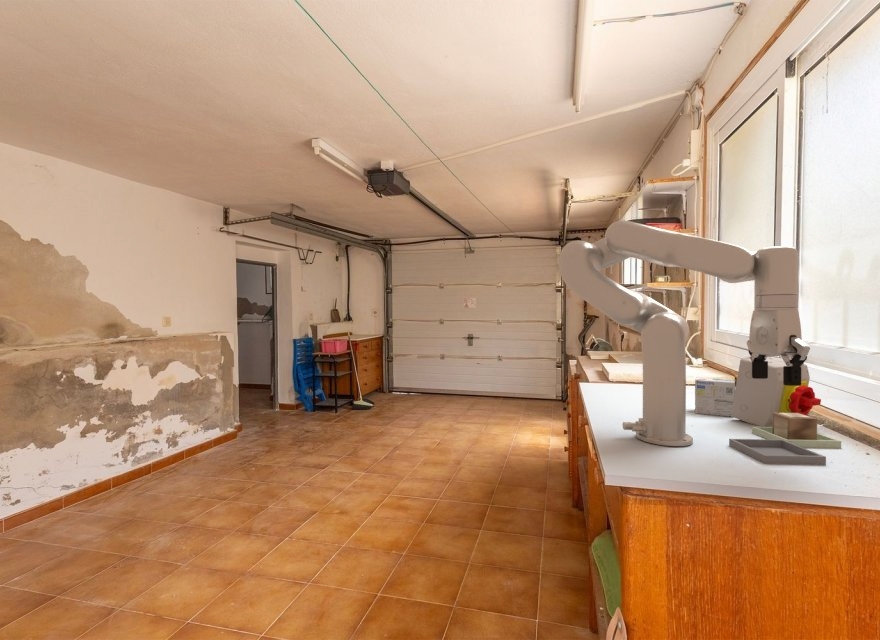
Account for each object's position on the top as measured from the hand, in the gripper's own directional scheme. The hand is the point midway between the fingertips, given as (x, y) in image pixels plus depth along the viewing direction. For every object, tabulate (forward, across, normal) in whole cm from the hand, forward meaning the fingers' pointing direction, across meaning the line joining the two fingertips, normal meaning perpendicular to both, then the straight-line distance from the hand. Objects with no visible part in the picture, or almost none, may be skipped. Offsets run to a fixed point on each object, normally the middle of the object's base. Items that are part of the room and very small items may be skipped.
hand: (775, 381), depth 94 cm
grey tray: (+16, 0, 0) cm, 16 cm away
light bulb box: (+17, -41, +11) cm, 46 cm away
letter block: (+16, -11, +12) cm, 23 cm away
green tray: (+16, -11, +12) cm, 24 cm away
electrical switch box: (+17, -27, +20) cm, 37 cm away
